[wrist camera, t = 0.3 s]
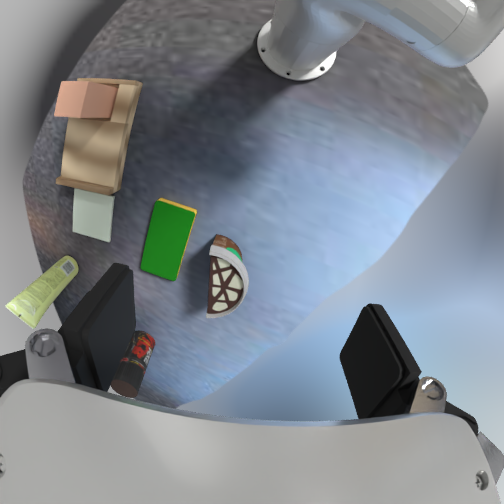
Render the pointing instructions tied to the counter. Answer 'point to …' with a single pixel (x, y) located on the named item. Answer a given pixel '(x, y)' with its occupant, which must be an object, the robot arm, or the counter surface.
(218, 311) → the food container
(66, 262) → the tube
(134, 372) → the deodorant
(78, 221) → the mat
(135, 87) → the open box
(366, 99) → the counter surface
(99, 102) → the block
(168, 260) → the dish sponge
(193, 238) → the counter surface
